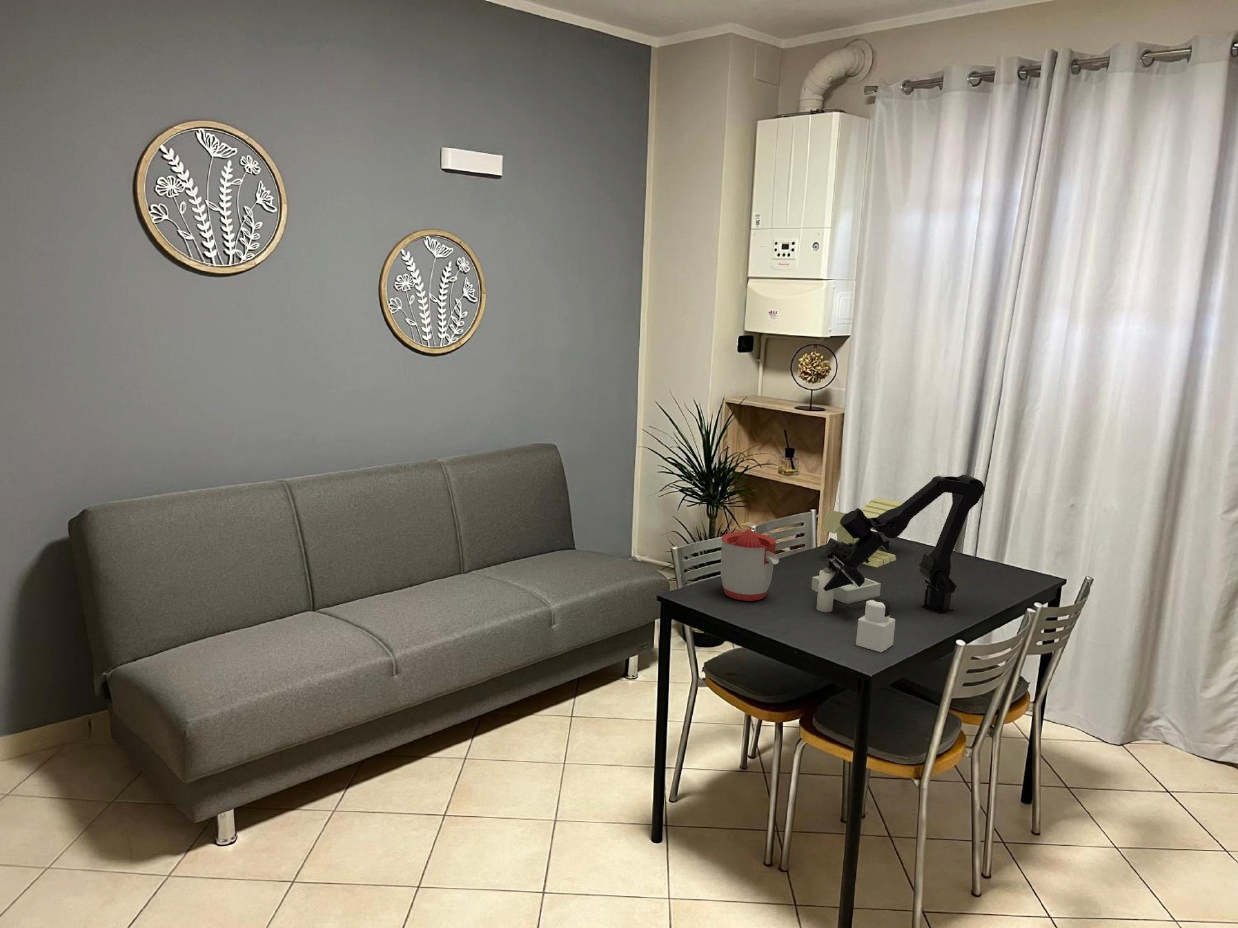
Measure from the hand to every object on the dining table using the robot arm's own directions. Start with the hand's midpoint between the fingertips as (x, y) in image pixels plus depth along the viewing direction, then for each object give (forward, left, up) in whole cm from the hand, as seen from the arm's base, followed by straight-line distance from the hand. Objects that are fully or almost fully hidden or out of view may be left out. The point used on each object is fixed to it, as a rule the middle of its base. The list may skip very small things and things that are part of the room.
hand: (821, 587), depth 260 cm
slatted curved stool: (+29, -51, -7) cm, 59 cm away
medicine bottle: (-26, +7, -7) cm, 27 cm away
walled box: (+6, -17, -7) cm, 20 cm away
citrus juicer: (+18, +11, -7) cm, 22 cm away
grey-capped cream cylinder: (-1, -1, -7) cm, 7 cm away
